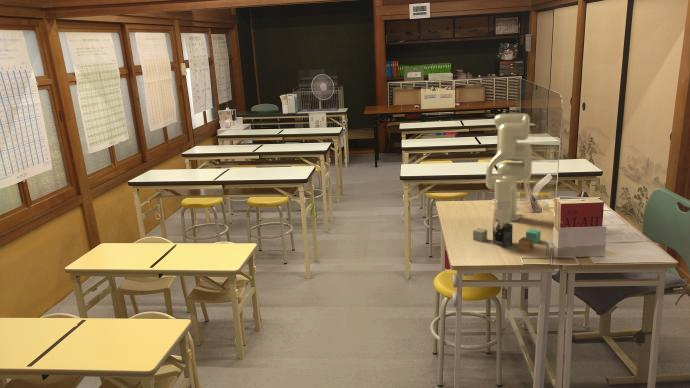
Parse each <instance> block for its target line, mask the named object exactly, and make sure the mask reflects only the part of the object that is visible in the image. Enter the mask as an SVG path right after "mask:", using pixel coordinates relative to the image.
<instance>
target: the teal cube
mask: <svg viewBox="0 0 690 388" xmlns="http://www.w3.org/2000/svg"><path fill="white" fill-rule="evenodd" d="M525 237H526V238H531V239H534V244H537V243H539V242H540V241H541V230H538V229H533V228H530V229H528V230H527V231H526V232H525Z"/></svg>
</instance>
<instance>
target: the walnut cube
mask: <svg viewBox="0 0 690 388" xmlns="http://www.w3.org/2000/svg"><path fill="white" fill-rule="evenodd" d="M534 245H535V243H534V239H531V238H526V236H524V237H522V238H520V239H519V240H518V251H520V252H521V251H522V252H526V253H530V252H531V251H533V250H534Z"/></svg>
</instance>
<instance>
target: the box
mask: <svg viewBox="0 0 690 388" xmlns="http://www.w3.org/2000/svg"><path fill="white" fill-rule="evenodd" d="M513 225H514V224H507V225H505V226H503V229H502V232H501V234H502V242H498V241H495V232H494V229H493V228H494V227H493V226H492V243H493V244H494V245H497V246H500V247H502V248H507V247H510V246H512V245H513V227H514V226H513ZM498 227H500V226H498ZM498 230H499V231H500V229H498Z"/></svg>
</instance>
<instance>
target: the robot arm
mask: <svg viewBox="0 0 690 388" xmlns="http://www.w3.org/2000/svg"><path fill="white" fill-rule="evenodd" d="M493 120H494V121H493V122H494V125H495V127H496V130H497V140H496V141H497V142H496V143H497V144H496V153H495V155H494V156H493V157H492V158H491V159H490V161H488V164H487V167H486V173H485V186H486V187H487V189H489V190H494V209H493V219H492V230H493V229H494V232H495V241H498V242H502V234H501V232H502V229H503V226H505V225H507V224H511V223H512V222H515V221H518V220H519V219H520V215H519V214H517V213H518V211H519V210H520V208H519V207H518V206H517V205H518V203H517V202H518V188H517V187H518V186H517V185H518V181H528V180H530V179H531V176H532V170H533V169H532V167H533V165H532V164H533V163H532V161H533V160H532V158H533V156H532V155H533V153H532V152H533V150H532V149H533V148H532V145H531V144H530V143H528V142H518V141H526V140H527V139H528V138H529V135H530V129H531V127H530V126H531V117H530V115H529V114H528V113H498V114H497V115H495V116H494V119H493ZM503 161H504V162H503ZM520 161H521V162H520ZM497 164H498V165H497ZM496 165H497V169H496V170H497V172H496V173H493V171H494V170H493V169H494V168H495V166H496ZM498 226H500V227H498ZM493 227H494V228H493ZM498 229H500V231H499V230H498Z"/></svg>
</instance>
